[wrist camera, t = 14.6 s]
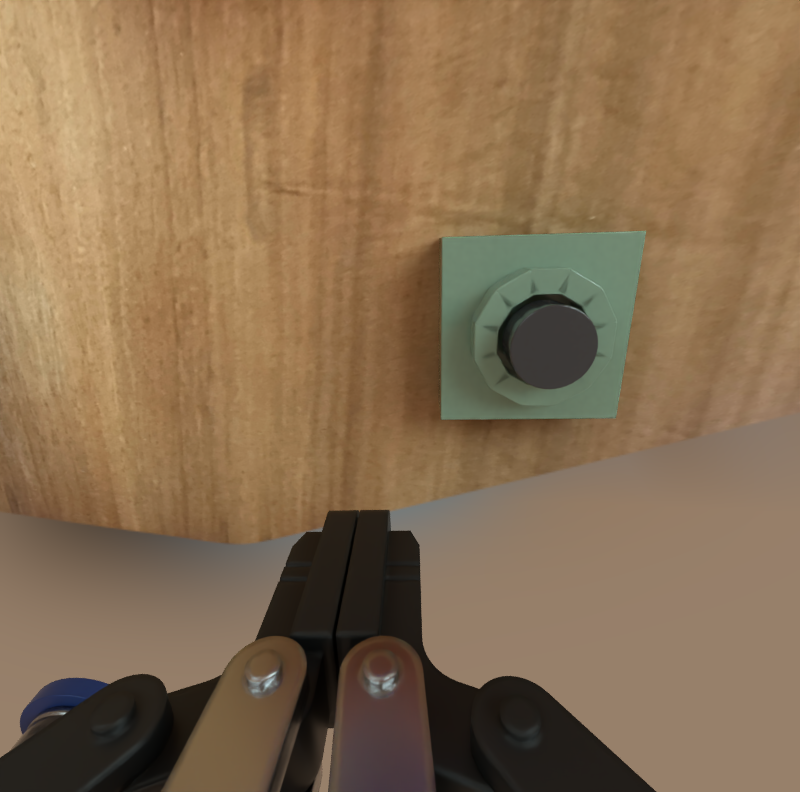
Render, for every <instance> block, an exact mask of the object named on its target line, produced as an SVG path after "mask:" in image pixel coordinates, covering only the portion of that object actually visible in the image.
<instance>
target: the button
mask: <svg viewBox="0 0 800 792" xmlns="http://www.w3.org/2000/svg"><path fill="white" fill-rule="evenodd" d="M502 347H503V352H504V355H505V358H506V360H507V361H508V363H509V364H510V366H511V367H512V368H513V370H514V371H515V372H516V374H517V375H518V376H519V377H520V378H521V379H522V380H523V381H524V382H526V383H527V384H529V385H531V386H533V387H537V388H541V389H557V388H562V387H565V386H568V385H570V384H572V383H574V382H575V381H577V380H578V379H580V378H581V377H582V376H583V375H584V374H585V373H586V372H587V371H588V370H589V368H590V367H591V365H592V364H593V362H594V360H595V357H596V354H597V349H598V335H597V331H596V328H595V326H594V324H593V322H592V321H591V319H590V318H589V317H588V316H587V315H586V314H585V313H584V312H582V311H581V310H579V309H577V308H575V307H572V306H570V305H567V304H565V303H563V302H560V301H557V300H551V299H543V300H537V301H533V302H531V303H528V304H526V305H524V306H523V307H521V308H520V309H519V310H518V311H516V312H515V313H514V314H513V315H512V317H511V318H510V319H509V321H508V323H507V325H506V327H505V329H504V333H503V338H502Z"/></svg>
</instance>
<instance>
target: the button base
mask: <svg viewBox="0 0 800 792" xmlns="http://www.w3.org/2000/svg"><path fill="white" fill-rule="evenodd" d="M645 235H646V231H625V232H593V233H560V234H528V235H495V236H463V237H442V238H439V408H440V416H441V420H470V419H587V418H616V414H617V408H618V402H619V395H620V389H621V383H622V377H623V371H624V365H625V358H626V352H627V346H628V340H629V334H630V327H631V321H632V315H633V309H634V303H635V297H636V290H637V284H638V278H639V272H640V266H641V259H642V253H643V247H644V241H645ZM543 299H551V300H557V301H560V302H563V303H565V304H567V305H570V306H572V307H575V308H577V309H579V310H581V311H582V312H584V313H585V314H586V315H587V316H588V317H589V318H590V319H591V321H592V322H593V324H594V326H595V328H596V331H597V335H598V349H597V354H596V357H595V360H594V362H593V364H592V365H591V367H590V368H589V370H588V371H587V372H586V373H585V374H584V375H583V376H582V377H581V378H580V379H578V380H577V381H575V382H574V383H572V384H570V385H568V386H565V387H562V388H557V389H541V388H537V387H533V386H531V385H529V384H527V383H526V382H524V381H523V380H522V379H521V378H520V377H519V376H518V375H517V374H516V372H515V371H514V370H513V368H512V367H511V366H510V364H509V363H508V361H507V360H506V358H505V355H504V352H503V347H502V338H503V333H504V329H505V327H506V325H507V323H508V321H509V319H510V318H511V317H512V315H513V314H514V313H515V312H516V311H518V310H519V309H520V308H521V307H523V306H524V305H526V304H528V303H531V302H533V301H537V300H543Z"/></svg>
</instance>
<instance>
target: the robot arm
mask: <svg viewBox="0 0 800 792" xmlns="http://www.w3.org/2000/svg"><path fill="white" fill-rule="evenodd" d="M328 728H334V735H333V745H332V755H331V766H330V777H329V788H328V792H656V791H655V790H654V789H653V788H652V787H650V786H649V785H648V784H647V783H646V782H645V781H644V780H643V779H642V778H641V777H640V776H638V775H637V774H636V773H635V772H634V771H633V770H632V769H631V768H630V767H629V766H628V765H626V764H625V763H624V762H623V761H622V760H621V759H620V758H619V757H618V756H617V755H616V754H614V753H613V752H612V751H611V750H610V749H609V748H608V747H607V746H606V745H605V744H603V743H602V742H601V741H600V740H599V739H598V738H597V737H596V736H594V734H593V733H591V732H590V731H589V730H588V729H587V728H586V727H585V726H584V725H582V724H581V722H579V721H578V720H577V719H576V718H575V717H574V716H573V715H572V714H571V713H570V712H568V711H567V710H566V709H565V708H564V707H563V706H562V705H561V704H560V703H559V702H558V701H556V700H555V699H554V698H553V697H552V696H551V695H550V694H549V693H548V692H546V691H545V690H544V689H543V688H541V687H540V686H538V685H537V684H535V683H533V682H531V681H529V680H526V679H523V678H520V677H514V676H502V677H498V678H495V679H492V680H490V681H489V682H487V683H486V684H484V685H483V686H482V687H481V688H480V689H478V688H475V687H472V686H469V685H466V684H463V683H460V682H457V681H455V680H453V679H450V678H449V677H447V676H445V675H444V674H442V673H441V672H440V671H439V670H438V669H436V668H435V666H434V665H433V664H432V663H431V661H430V660H429V658H428V657H427V655H426V653H425V650H424V647H423V642H422V619H421V586H420V549H419V544H418V542H417V541H416V539H415V537H414V536H413V534H412V533H411V531H391V525H390V511H389V510H360V512H359V511H358V510H349V511H329V512H328V514H327V517H326V520H325V523H324V527H323V530H322V532H306V533H305V534H304V535H303V536H302V537H301V538H300V539H299V540H298V542H297V543H296V544H295V545H294V546H293V547H292V549H291V552H290V555H289V557H288V560H287V562H286V567H284V570H283V572H282V574H281V577H280V582H278V585H277V587H276V590H275V592H274V595H273V597H272V600H271V602H270V605H269V607H268V610H267V612H266V615H265V617H264V620H263V622H262V625H261V628H260V630H259V633H258V635H257V638H256V640H255V641H254V642H252V643H251V644H249V645H247V646H245V647H244V648H243V649H241V650H240V651H239V652H238V653H237V654H236V655H235V656H234V657H233V658H232V659H231V661H230V662H229V663H228V665H227V667H226V668H225V670H224V672H223V674H222V675H220V676H218V677H216V678H214V679H212V680H209V681H206V682H203V683H200V684H197V685H193V686H190V687H187V688H184V689H180V690H178V691H174V692H171V693H168V694H167V691H166V688H165V686H164V684H163V682H162V681H161V680H160V679H158V678H157V677H155V676H152V675H148V674H138V675H132V676H128V677H124V678H122V679H119V680H117V681H115V682H113V683H111V684H109V685H107V686H105V687H104V688H102V689H101V690H99V691H98V692H96V693H95V694H93V695H92V696H90V697H89V698H87V699H86V700H84V701H83V702H81V703H80V704H78V705H77V706H55V707H51V708H48V709H45V710H43V711H42V712H40V713H39V714H38V715H37V716H36V717H35V719H34V720H33V721H32V722H31V724H30V725H29V726H28V728H27V730H26V731H25V733H24V734H23V735H22V736H21V738H20V739H19V740H18V742H17V743H16V744H15V745H14V746H13V747H12V749H11V750H10V751H9V752H8V753H6V754H5V755H4V756H2V757H1V758H0V792H319V788H320V784H321V778H322V758H323V752H324V746H325V741H326V735H327V729H328Z"/></svg>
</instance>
